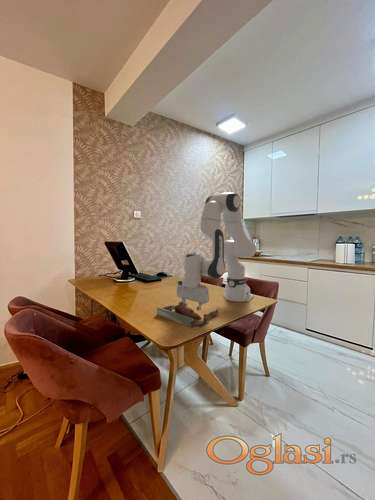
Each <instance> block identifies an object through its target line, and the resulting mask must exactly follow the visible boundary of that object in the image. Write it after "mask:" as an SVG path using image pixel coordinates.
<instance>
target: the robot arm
mask: <svg viewBox="0 0 375 500" xmlns="http://www.w3.org/2000/svg"><path fill="white" fill-rule="evenodd" d="M241 203H242V201H241V197H240V196H239V194H238V193H236V192H222V193H218V194H214V195H213V194H212V195H210V196H208V197H207V198H206V200H205V203H204V205H203V210H202V214H201V218H200V224H199V225H200V231H201V233H202V234H203V235H204V236H205V237H207V238H208V239H210V240H211V242H212V258H206V257H204V256H202V255H201V254H200V253H199V252H189V253H187V254H186V255H185V256H184V257H185V258H184V264H183V267H184V270H183V271H184V276H183V278H182V279H180V280H177V281H176V284H177V285H176V297H178V298H180V299H181V301H183V306H186V307H188V302H187V301H188V300H189V301H191V302H196V303H198V306H196V310H197V311H201V310H202V306H203V305H205V304H208V303H209V301H210V295H209V288H208V286H206V285H205V284H201V283H202V282H201V277H202V276H204V277H209V278H212V279H215V280H218V279H220V278H222V276H223V275H224V274H225V271H226V268H227V277H226V284H225V286H224V293H223V294H222V296H223V297H224V300H227V301H230V302H250V301H251V300H252V299H253V298H254V293H253V294H252V293H251V288H250V286H248V284H247V281H248V277H246V276H245V273H246V272H245V269H246V268H245V265H244V263H242V262H240V260H239V259H238V258H244V259H245V258H252V257H254V256H255V254H256V253H257V246H256V244H255V242H254V241H252V240H251V239H250V238H249V237H248V235H247V234H246V232H245V230H244V225H243V220H242V219H243V218H242V213H241V209H240V206H241ZM222 215H223V224H224V225H223V226H224V231H225V233H226V235H227V236H229V237H230V238H232V239H226V240H224V239H225V237H224V233H223V230H222V229H221V221H222ZM225 262H226V265H227V266H226V265H225Z"/></svg>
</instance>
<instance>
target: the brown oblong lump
mask: <svg viewBox="0 0 375 500" xmlns="http://www.w3.org/2000/svg"><path fill="white" fill-rule="evenodd" d="M175 306H176V307H175V309H174V312H175V311H176V313H178V314H181V315H184V316H187V317H190V318H194V319H196V322H197V321H201V320H203V318H202V316H200V315H199V314H198V313H197V312H196V311H194V310H193V308H192V307H191V308H190V307H188V306H183V305H179V304H177V305H175Z"/></svg>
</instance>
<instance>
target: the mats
mask: <svg viewBox="0 0 375 500" xmlns="http://www.w3.org/2000/svg"><path fill="white" fill-rule="evenodd" d="M176 306H177V305H172V310H175V307H176ZM209 323H210V321H208V320H207V321H203V322H202V321H201V322H199V323H198V324H196V326H195V327H199V328H202V327H204V326H206V325H207V324H209Z"/></svg>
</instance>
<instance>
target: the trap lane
mask: <svg viewBox="0 0 375 500" xmlns="http://www.w3.org/2000/svg"><path fill="white" fill-rule="evenodd" d="M178 305H183V301H182V300H180V301H179V302H178ZM172 306H173V305H172V304H169V305H166V306H164V307H159V306H158V307H156V315H157V316H159V317H161V318H164V319H167V320H170V321H173V322H176V323H178V324H181V325H184V326H186V327H189V328H192V329H193V328H194V327H197V326H196V325H197V321H196V319H194V318H190V317H187V316H184V315H181V314H180V313H179V312H175V311H172V310H173V309H172ZM218 315H219V308H215V309H213V310H211V311H209V312H207V313H205V314H203V318H202V320H203V322H204V321H207V322H208V320H210V319H213V318H214V317H216V316H218Z"/></svg>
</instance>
